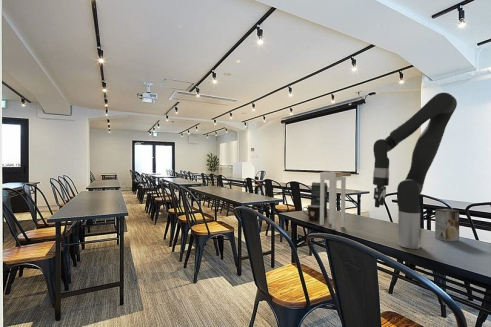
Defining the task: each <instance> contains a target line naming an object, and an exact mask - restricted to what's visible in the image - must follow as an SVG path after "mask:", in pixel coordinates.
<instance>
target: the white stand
mask: <svg viewBox="0 0 491 327" xmlns="http://www.w3.org/2000/svg"><path fill="white" fill-rule="evenodd" d="M324 172H325V171H323V172H319V173H320V174H319V180H320V182H319V183H320V217H319V225H320V226H324V225H325V218H324V183H325V181H328V224H329V225H331V230H337V189H338V188H337V187H338V186H337V182H338V181H340V182H341V183H340V184H341V185H340V187H341V188H340V228H342V227H345V228H346V184H347V183H346V181H347V176H342V177H336V173H324Z"/></svg>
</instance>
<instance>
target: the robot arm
mask: <svg viewBox="0 0 491 327" xmlns="http://www.w3.org/2000/svg"><path fill="white" fill-rule="evenodd" d="M457 106H458V101H457V98H455V96H453V95H452V94H450V93H448V92H438V93H437V94H435V95H434V96H432V97H431V98H430V99H429V100H428V101H427V102H426V103H425V104H424V105H423V106H422V107H421V108H420V109H419V110H417V111H416V112H415V113H414V114H412V116H410V117H409V118H408V119H407V120H406V121H404V122H402V123H401V124H399V125H398V126H396V127H395V128H394V129H393V130H391V131H390V132H389V135H388V136H387V137H385V138H384V139H382V138H379V139H376V140H375V141H374V143H373V147H372V148H373V150H372V151H373V157H374V166H373V167H374V168H373V175H372V184H373V185H374V186H376V187H374V188H373V190H374V191H373V200H374V208H378V209H379V208H380V207H381V206H384V205H385V198H386V196H387V195H386V194H387V186H389V185H390V184H389V183H390V158H389V157H388V152H391V151H392V150H393V149H395V148H396V147H397V146H398V145H399V144H400V143H401V142H403V141H405V140H406V139H408V138H409V137H410V136H412V135H413V134H414V133H415V132H416V131H418V129H420V127H422V125H423V124H425V123H426V122H427V121H428V123H427V125H426V126H425V128H424V129H423V131H421V132H420V133H421V134H420V135H419V136H418V139H417V140H416V143H415V145H414V148H413V151H412V155H411V162H410V169H409V170H408V172H407V175H406V177H405V179H404V180H402V181H400V182H399V183H398V185H397V189H396V190H397V191H396V201H397V202H396V204H397V208H398V213H397V214H398V215H397V218H398V220H397V245H398V246H399V247H402V248H405V249H406V248H407V249H411V250H419V249H420V248H421V247H422V245H421V244H422V227H421V206H420V195H421V193H422V191H423V189H424V184H425V181H426V180H425V179H426V177H427V175H428V174H427V173H428V171H429V170H430V167H431V166H432V164H433V162H434V159H435V157H436V156H437V153H438V150H439V148H440V145H441V142H442V140H443V136H444V134H445V132H446V131H445V130H446V128H447V125H448V123H449V121H450V120H451V118H452V116H453V114H454V112H455V111H456V110H457V109H456V108H457Z"/></svg>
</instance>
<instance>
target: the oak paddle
mask: <svg viewBox="0 0 491 327" xmlns="http://www.w3.org/2000/svg"><path fill="white" fill-rule="evenodd" d="M323 172H324V173H336V177H351V176H352V174H351V172H342V171H332V170H331V171H323Z"/></svg>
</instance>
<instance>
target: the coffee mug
mask: <svg viewBox="0 0 491 327" xmlns="http://www.w3.org/2000/svg"><path fill="white" fill-rule="evenodd" d="M304 209H307V212H305V210H304ZM319 211H320V206H318V205H311V204H309V205H307V206H304V207H302V212H303V213H304V214H305V215H307V217H308V221H309V220H310V222H319V220H320V217H319Z"/></svg>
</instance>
